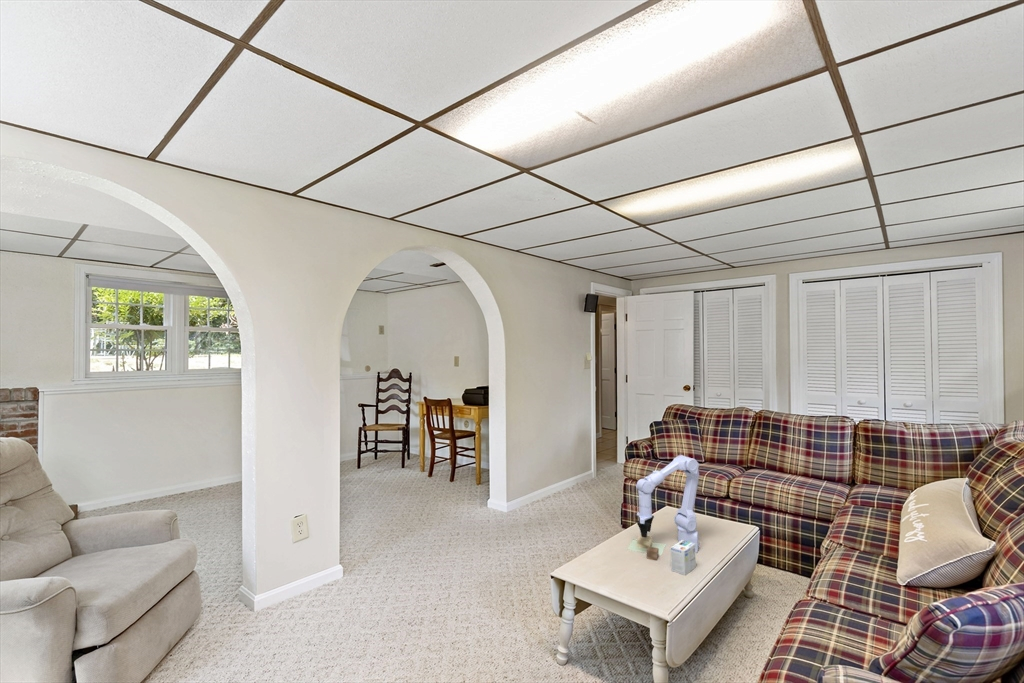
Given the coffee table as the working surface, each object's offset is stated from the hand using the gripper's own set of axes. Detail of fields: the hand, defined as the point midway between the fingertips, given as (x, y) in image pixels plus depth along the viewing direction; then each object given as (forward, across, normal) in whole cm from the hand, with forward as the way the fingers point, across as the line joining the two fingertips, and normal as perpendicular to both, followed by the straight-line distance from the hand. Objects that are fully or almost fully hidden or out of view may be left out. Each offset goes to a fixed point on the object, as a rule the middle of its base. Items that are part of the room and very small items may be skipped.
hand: (646, 534), depth 225 cm
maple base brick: (+9, -7, -2) cm, 12 cm away
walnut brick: (+10, +5, +4) cm, 11 cm away
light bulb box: (+10, +8, +18) cm, 22 cm away
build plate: (+10, -6, -1) cm, 12 cm away
